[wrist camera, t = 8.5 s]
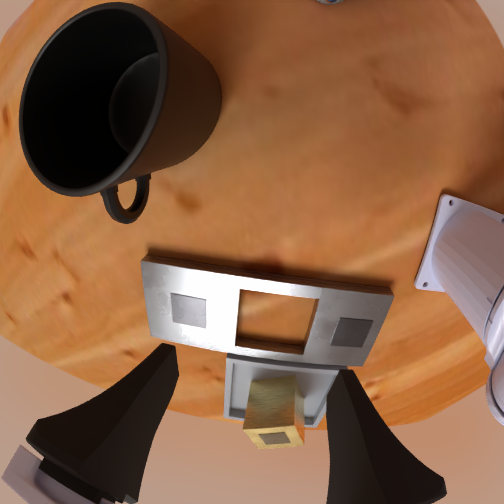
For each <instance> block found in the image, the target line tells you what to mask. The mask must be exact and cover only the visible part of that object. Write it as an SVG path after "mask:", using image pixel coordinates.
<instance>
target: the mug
mask: <svg viewBox="0 0 504 504" xmlns="http://www.w3.org/2000/svg"><path fill="white" fill-rule="evenodd" d="M221 98H222V96H221V87H220V82H219V79H218V76H217V74H216V72H215V70H214V68H213V66H212V65H211V64H210V62H209V61H208V60H207V59H206V58H205V57H204V56H203V55H201V54H200V53H199V52H198V51H197V50H196V49H194V48H193V47H192V46H191V45H190V44H189V43H187V42H186V41H185V40H184V39H183V38H181V37H180V36H179V35H178V34H176V33H175V32H174V31H173V30H171V29H170V28H169V27H168V26H166V25H165V24H164V23H162V22H161V21H160V20H158V19H157V18H156V17H154V16H153V15H152V14H150V13H149V12H148V11H146V10H145V9H143V8H141V7H139V6H136V5H134V4H130V3H124V2H110V3H103V4H99V5H96V6H93V7H90V8H88V9H86V10H83V11H82V12H80V13H78V14H76V15H75V16H73V17H72V18H70V19H69V20H68V21H67V22H65V23H64V24H63V25H62V26H60V27H59V28H58V29H57V30H56V31H55V32H54V33H53V35H52V36H51V37H50V38H49V39H48V40H47V42H46V43H45V44H44V46H43V47H42V49H41V50H40V52H39V53H38V55H37V57H36V58H35V60H34V62H33V64H32V66H31V68H30V70H29V73H28V75H27V78H26V81H25V84H24V88H23V91H22V95H21V101H20V109H19V133H20V140H21V145H22V149H23V152H24V155H25V158H26V160H27V162H28V165H29V167H30V168H31V170H32V171H33V173H34V174H35V176H36V177H37V178H38V179H39V180H40V182H41V183H42V184H44V185H45V186H46V187H48V188H49V189H50V190H52V191H54V192H56V193H58V194H62V195H66V196H71V197H83V196H88V195H92V194H95V193H98V192H100V194H101V196H102V197H103V201H104V205H105V208H106V210H107V212H108V213H109V215H110V216H111V217H112V219H114V220H115V221H117V222H119V223H123V224H129V223H133V222H134V221H136V220H137V218H138V217H139V216H140V215H141V213H142V212H143V210H144V208H145V206H146V203H147V200H148V195H149V180H150V179H151V173H152V172H155V171H158V170H161V169H164V168H167V167H170V166H173V165H176V164H178V163H180V162H182V161H184V160H186V159H187V158H189V157H190V156H192V155H193V154H194V153H195V152H197V151H198V150H199V149H200V148H201V147H202V145H203V144H204V143H205V142H206V141H207V139H208V138H209V136H210V135H211V133H212V131H213V129H214V127H215V125H216V122H217V120H218V117H219V113H220V108H221ZM134 178H135V181H137V191H136V196H135V199H134V202H133V203H132V205H131V206H130V207H129V208H128V209H124V208H123V207H122V206H121V204H120V201H119V198H118V194H117V192H118V184H121V183H124V182H126V181H129V180H132V179H134Z"/></svg>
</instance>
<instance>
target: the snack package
mask: <svg viewBox="0 0 504 504" xmlns="http://www.w3.org/2000/svg"><path fill="white" fill-rule="evenodd" d="M317 1H319V2H321V3H324V4H330V3H328V2H326V1H325V0H317ZM328 1H330V2H333V3H331V4H336V3H339V2H341V1H343V0H328Z"/></svg>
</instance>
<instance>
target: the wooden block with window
mask: <svg viewBox="0 0 504 504" xmlns="http://www.w3.org/2000/svg"><path fill="white" fill-rule="evenodd" d="M304 425H305V417H304V397H303V394H302V392H301V389H300V386H299V384H298V381H297V378H296V376H295V375H290V376H284V377H278V378H271V379H264V380H256V381H251V384H250V390H249V396H248V402H247V408H246V413H245V419H244V425H243V431H244V432H245V433H246V434H247V435H248V437H249V438H250V439H251V440H252V441H253V443H254V444H255V445H256V446H257V447H258V449H268V448H282V447H293V446H302V445H304Z"/></svg>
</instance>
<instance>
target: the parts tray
mask: <svg viewBox="0 0 504 504" xmlns="http://www.w3.org/2000/svg"><path fill="white" fill-rule="evenodd" d="M340 369H347V366H341V365H325V364H312V363H301V362H291V361H282V360H274V359H266V358H259V357H252V356H245V355H239V354H233V353H228V354H227V358H226V377H225V397H224V418H229V419H235V420H241V421H244V419H245V413H246V408H247V402H248V396H249V390H250V384H251V381H256V380H264V379H271V378H278V377H284V376H290V375H295V376H296V378H297V381H298V384H299V386H300V389H301V392H302V394H303V397H304V417H305V425H304V427H317V426H318V424H319V422H320V421H321V419H322V417H323V416H324V414H325V412H326V400H327V394H328V392H329V390H330V388H331V386H332V384H333V382H334V380H335V378H336V376H337V374H338V372H339V370H340ZM347 370H348V369H347Z"/></svg>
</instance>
